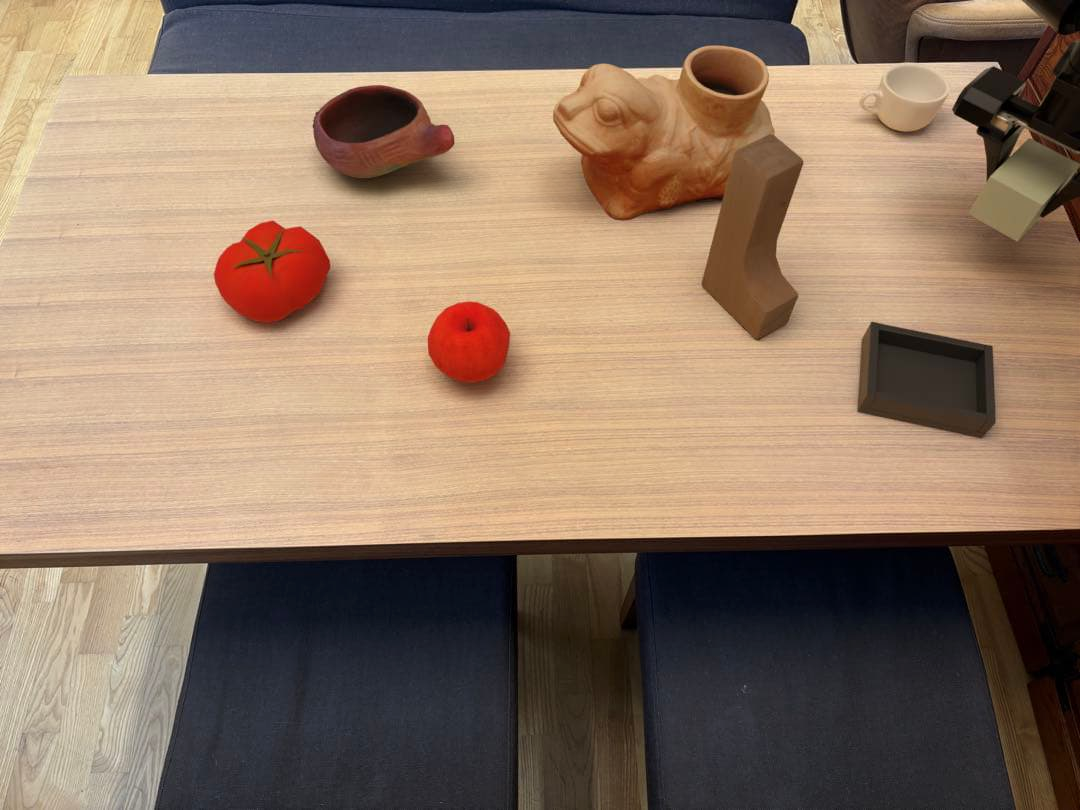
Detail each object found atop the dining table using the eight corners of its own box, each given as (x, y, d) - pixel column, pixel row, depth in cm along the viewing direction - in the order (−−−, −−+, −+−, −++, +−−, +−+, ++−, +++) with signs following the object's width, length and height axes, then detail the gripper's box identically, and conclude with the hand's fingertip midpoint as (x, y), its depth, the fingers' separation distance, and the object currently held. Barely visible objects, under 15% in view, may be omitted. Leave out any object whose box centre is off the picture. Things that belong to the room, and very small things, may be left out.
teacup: (919, 97, 107) (936, 60, 102) (941, 138, 103) (960, 100, 98) (842, 103, 106) (856, 65, 102) (862, 143, 102) (877, 106, 98)
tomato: (209, 304, 88) (188, 261, 82) (283, 240, 93) (268, 195, 87) (279, 348, 85) (261, 306, 79) (351, 279, 90) (340, 235, 84)
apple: (519, 392, 82) (518, 346, 76) (437, 406, 81) (430, 361, 75) (503, 328, 86) (501, 280, 80) (426, 341, 85) (418, 293, 79)
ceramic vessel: (533, 158, 100) (534, 44, 88) (735, 115, 105) (763, 0, 92) (572, 240, 93) (579, 128, 80) (787, 190, 98) (825, 77, 85)
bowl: (316, 201, 96) (300, 144, 89) (325, 126, 103) (311, 68, 96) (458, 197, 97) (453, 140, 90) (458, 122, 104) (453, 65, 97)
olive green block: (1005, 175, 90) (1029, 137, 86) (1054, 201, 88) (1080, 164, 84) (967, 214, 87) (989, 176, 82) (1017, 242, 85) (1042, 205, 80)
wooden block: (789, 322, 87) (843, 190, 72) (756, 341, 86) (804, 210, 71) (731, 267, 91) (771, 131, 76) (699, 285, 90) (733, 149, 75)
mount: (980, 362, 85) (993, 345, 82) (982, 438, 80) (996, 422, 77) (861, 338, 86) (871, 321, 84) (857, 411, 81) (866, 395, 79)
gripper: (1249, 73, 73) (1139, 207, 86) (1045, -16, 80) (973, 121, 93) (1197, 133, 68) (1090, 265, 82) (987, 34, 75) (919, 170, 89)
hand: (1016, 200), depth 86 cm, fingers closed on olive green block, 5 cm apart
